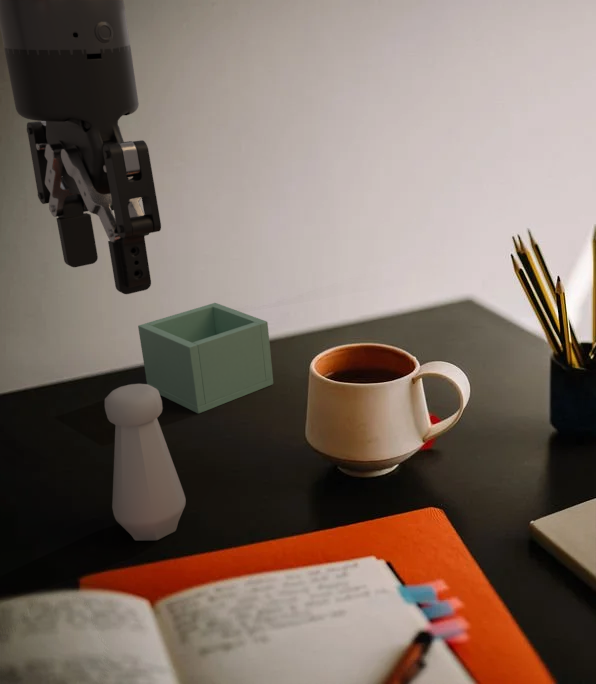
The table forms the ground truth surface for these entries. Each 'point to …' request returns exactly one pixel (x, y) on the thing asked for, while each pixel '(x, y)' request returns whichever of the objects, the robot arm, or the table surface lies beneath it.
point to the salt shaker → (142, 465)
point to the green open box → (206, 356)
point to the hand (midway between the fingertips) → (107, 277)
